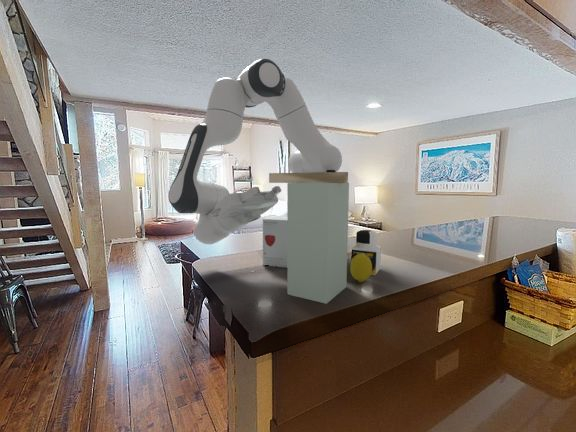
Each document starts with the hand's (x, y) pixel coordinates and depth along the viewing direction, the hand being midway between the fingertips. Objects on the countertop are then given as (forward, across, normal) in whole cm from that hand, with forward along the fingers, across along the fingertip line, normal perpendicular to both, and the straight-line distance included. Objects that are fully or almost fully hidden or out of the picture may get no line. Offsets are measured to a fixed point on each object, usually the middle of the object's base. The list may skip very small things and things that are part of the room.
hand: (268, 188), depth 76 cm
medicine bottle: (+4, +22, +31) cm, 38 cm away
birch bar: (+10, 0, +4) cm, 11 cm away
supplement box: (-18, +15, +18) cm, 30 cm away
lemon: (+6, +11, +32) cm, 35 cm away
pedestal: (0, 0, +28) cm, 28 cm away
